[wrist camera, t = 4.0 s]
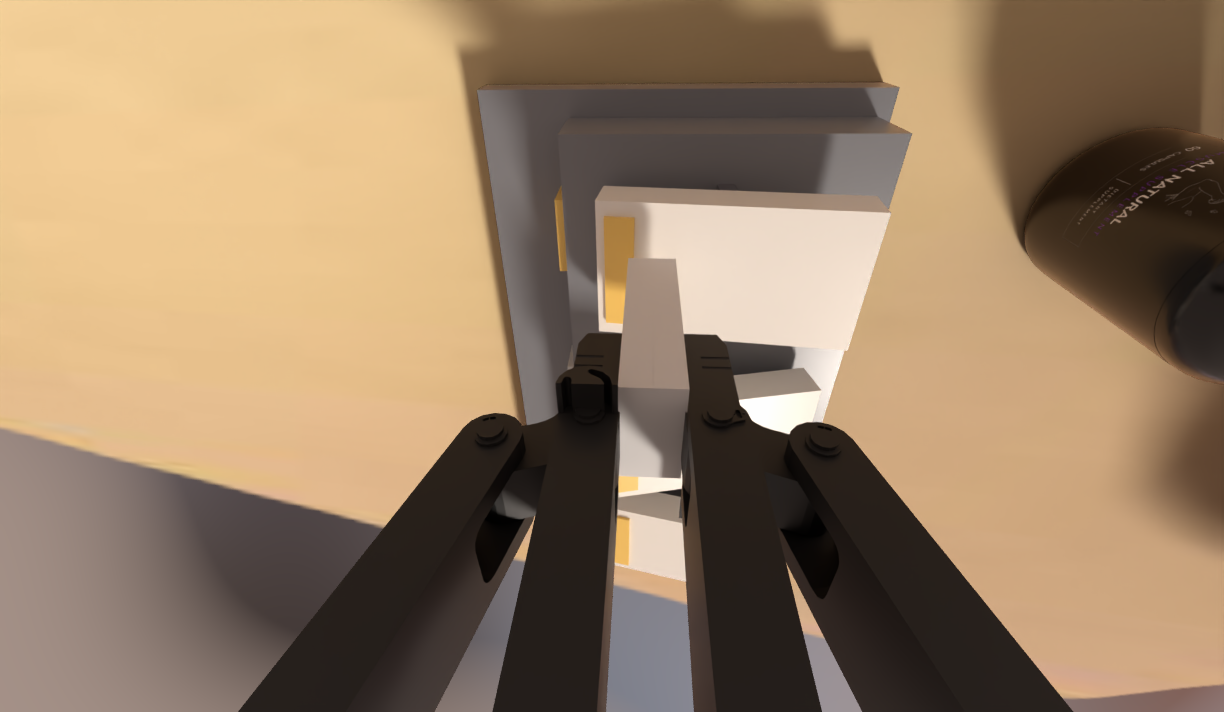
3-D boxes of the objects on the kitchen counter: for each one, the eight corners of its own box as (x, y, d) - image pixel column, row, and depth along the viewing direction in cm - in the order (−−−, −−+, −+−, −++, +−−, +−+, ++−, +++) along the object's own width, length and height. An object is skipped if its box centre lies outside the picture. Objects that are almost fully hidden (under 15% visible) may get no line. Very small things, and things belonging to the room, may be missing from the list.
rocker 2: (877, 195, 16) (892, 214, 15) (838, 326, 19) (848, 352, 18) (603, 185, 18) (593, 201, 16) (606, 310, 20) (598, 333, 19)
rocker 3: (803, 367, 22) (823, 392, 21) (782, 448, 25) (798, 474, 24) (601, 390, 21) (607, 418, 20) (603, 471, 24) (609, 501, 22)
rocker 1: (786, 518, 25) (787, 548, 24) (769, 574, 28) (769, 604, 27) (613, 483, 27) (604, 509, 26) (613, 539, 30) (606, 565, 29)
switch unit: (883, 82, 20) (953, 105, 15) (771, 504, 35) (790, 578, 30) (486, 84, 21) (443, 108, 16) (543, 496, 36) (529, 567, 31)
